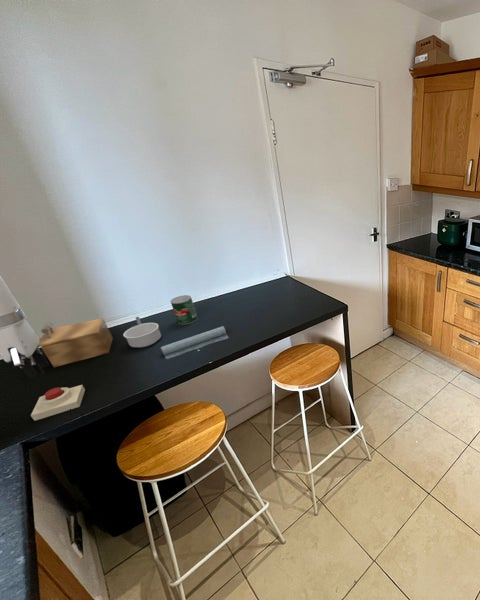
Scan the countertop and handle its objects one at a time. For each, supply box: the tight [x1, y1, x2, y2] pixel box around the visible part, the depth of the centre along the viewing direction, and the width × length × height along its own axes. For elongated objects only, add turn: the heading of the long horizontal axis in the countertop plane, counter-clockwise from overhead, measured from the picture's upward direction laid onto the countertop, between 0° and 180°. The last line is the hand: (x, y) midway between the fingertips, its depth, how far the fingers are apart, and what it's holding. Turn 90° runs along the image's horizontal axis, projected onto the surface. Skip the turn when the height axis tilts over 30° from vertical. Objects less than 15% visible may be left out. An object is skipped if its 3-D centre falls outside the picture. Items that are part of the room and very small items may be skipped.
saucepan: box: [123, 316, 162, 348], centre depth 130 cm, size 12×20×6 cm, turn 42°
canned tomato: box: [169, 294, 199, 326], centre depth 142 cm, size 8×8×11 cm
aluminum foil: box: [160, 325, 230, 360], centre depth 126 cm, size 23×7×3 cm, turn 133°
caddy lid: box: [38, 317, 105, 348], centre depth 117 cm, size 16×13×5 cm
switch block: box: [30, 384, 86, 421], centre depth 97 cm, size 10×9×4 cm
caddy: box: [41, 320, 114, 368], centre depth 121 cm, size 16×13×9 cm
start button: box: [44, 387, 64, 400], centre depth 96 cm, size 4×4×2 cm
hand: (39, 371), depth 92 cm, fingers open, 3 cm apart
